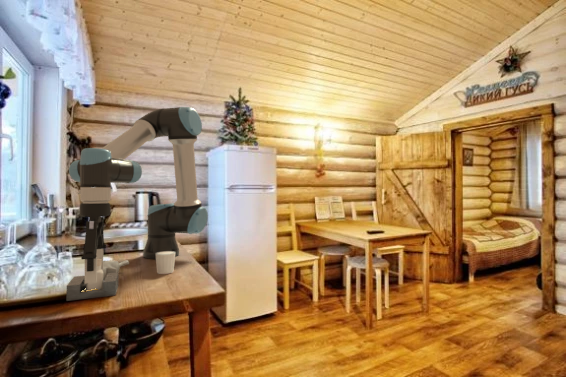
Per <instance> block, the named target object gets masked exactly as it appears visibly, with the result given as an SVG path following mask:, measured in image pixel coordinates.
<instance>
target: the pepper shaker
mask: <svg viewBox="0 0 566 377" xmlns="http://www.w3.org/2000/svg"><path fill="white" fill-rule="evenodd" d="M103 282H104V281H103V270H102V269H101V259H98V258H97V282H96V283H87V284H86V290H91V289H95V288H96V289H98V290H101V289H103Z"/></svg>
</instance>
